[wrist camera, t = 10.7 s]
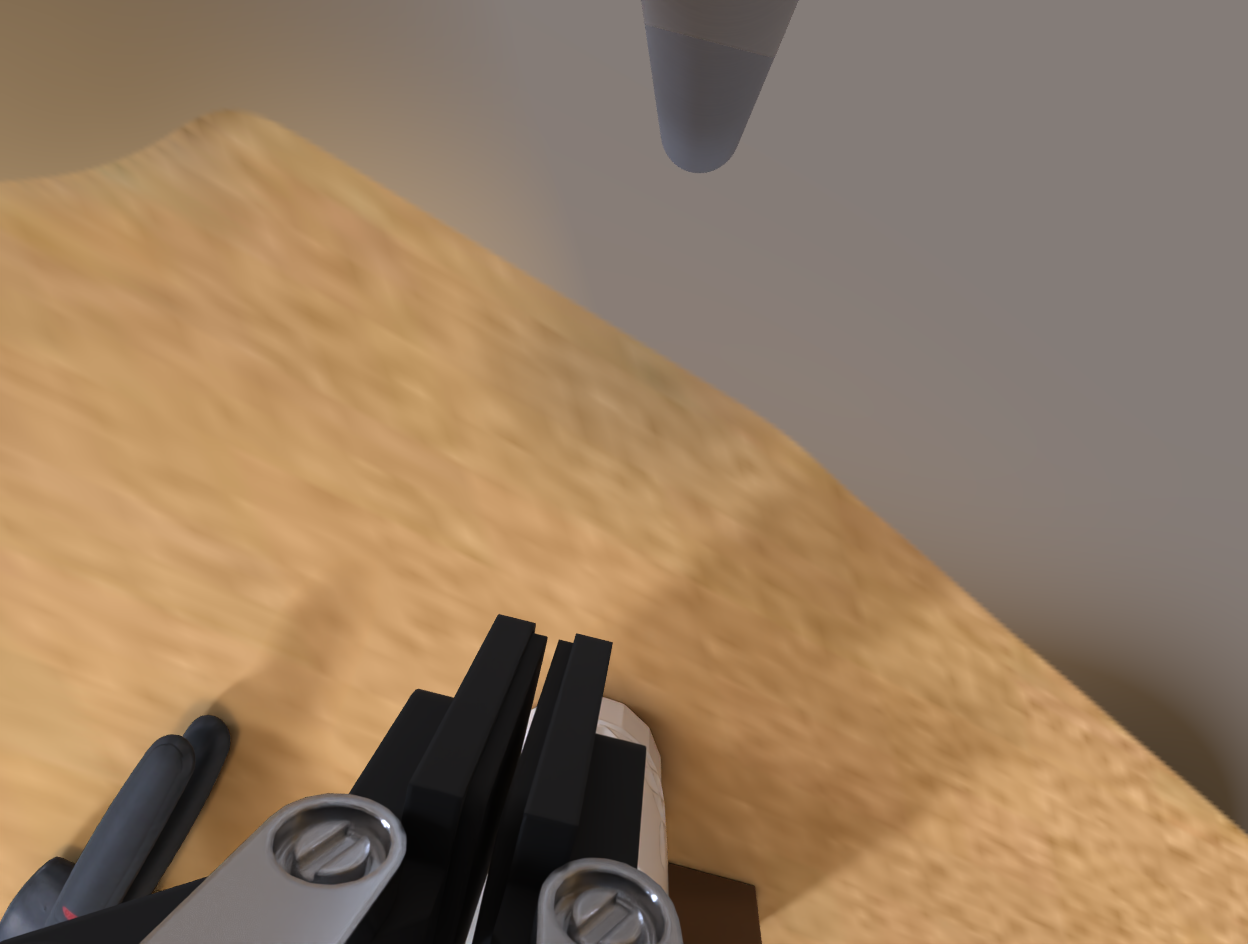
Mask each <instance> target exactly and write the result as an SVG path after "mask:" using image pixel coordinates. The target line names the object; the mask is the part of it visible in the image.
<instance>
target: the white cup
mask: <svg viewBox="0 0 1248 944" xmlns="http://www.w3.org/2000/svg"><path fill="white" fill-rule="evenodd" d="M535 710H536V708H534V709H532V710H531V713H530V717H529V721H528V726H527V730H526V734H525V739H524V743H525V740H526V737H527V734H528V731H529V728H530V725H531V722H532V719H533V716H534V713H535ZM596 733H597V734H601V735H605V736H609V737H613V738H617V739H621V740H625V741H629V742H633V743H637V744H641V745H645V746H646V764H645V777H644V789H643V802H642V815H641V828H640V841H639V854H638V867H637V869H638V870H640V871H642V872H644V873H645V874H647V875H648V876H649V877H650V878H652V879H653V880H654V881H655V882H656V883H658V884H659V885H660V886H661V887H662V888H663V890H664V891H665V892H666V894H667V895H668V896H669V879H668V849H667V831H666V819H665V803H664V796H663V790H662V785H661V757H660V754H659V751H658V749H657V746H656V744H655V741H654V739H653V736H652V733H651V731H650V728H649V727H648V726H647V725H646V724H645V723H644V722H643V721H642V720H641V719H640V718H639V717H638V716H637V715H635V714H634V713H633V712H632V711H631V710H630V709H629V708H628V707H627V706H626V705H625V704H623V703H620V702H617V701H614V700H611V699H608V698H605V697H602V702H601V708H600V713H599V718H598V724H597V729H596ZM524 743H523V746H524ZM522 749H523V747H522ZM487 875H488V874H487ZM486 879H487V877H486ZM485 884H486V880H485V883H484V886H483V890H482V893H481V896H480V899H479V902H478V905H477V908H476V911H475V914H474V917H473V921H472V924H471V927H470V930H469V933H468V936H467V939H466V942H465V944H472V940H473V936H474V932H475V927H476V923H477V919H478V914H479V910H480V905H481V901H482V897H483V892H484V888H485Z"/></svg>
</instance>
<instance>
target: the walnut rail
mask: <svg viewBox="0 0 1248 944" xmlns="http://www.w3.org/2000/svg"><path fill="white" fill-rule="evenodd" d="M668 879H669V898H670V899H671V901H672V902H673V904H674V907H675V910H676V913H677V915H678V918H679V922H680V928H681V934H682V939H683V944H762V940H761V932H760V924H759V916H758V907H757V899H756V891H755V887H754V886H752V885H748V884H744V883H741V882H737V881H733V880H729V879H726V878H722V877H718V876H714V875H711V874H707V873H703V872H699V871H696V870H692V869H688V868H685V867H681V866H677V865H673V864H670V863H668Z"/></svg>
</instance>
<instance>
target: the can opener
mask: <svg viewBox="0 0 1248 944" xmlns="http://www.w3.org/2000/svg"><path fill="white" fill-rule="evenodd" d="M229 749H230V733H229V730H228V728H227V726H226V725H225V723H224V722H223V721H222V720H221V719H219V718H218V717H215V716H211V715H204V716H200V717H198V718H197V719H196V720H194V721H193V722H192V724H191V725H190V726H189V728H188V729H187V730H186V732H185V733H184V735H183V737H182V736H179V735H173V734H172V735H166V736H163V737H161V738H159V739H158V740H156V741H155V742H154V743H153V744H152V746H151V747H150V748H149V749H148V750H147V752H146V753H145V755H144V756H143V758H142V759H141V760H140V762H139V763H138V764H137V766H136V768H135V769H134V770H133V772H132V773H131V775H130V776H129V778H128V779H127V781H126V782H125V784H124V785H123V787H122V788H121V790H120V791H119V793H118V794H117V796H116V797H115V799H114V800H113V802H112V804H111V805H110V807H109V808H108V810H107V812H106V813H105V815H104V816H103V818H102V820H101V822H100V823H99V825H98V826H97V827H96V829H95V831H94V833H93V835H92V836H91V838H90V840H89V841H88V843H87V845H86V847H85V849H84V850H83V852H82V854H81V855H80V857H79V859H78V861H77V863H76V864H75V863H72V862H70V861H68V860H66V859H64V858H61V857H55V858H53V859H51V860H49V861H48V862H46V863H45V864H44V865H43V866H42V867H41V868H39V870H38V871H37V872H36V873H35V874H34V875H33V876H32V877H31V878H30V879H29V880H28V881H27V882H26V883H25V884H24V886H23V887H22V888H21V890H20V891H19V892H18V894H17V895H16V896H15V898H14V899H13V901H12V902H11V903H10V905H9V907H8V908H7V910H6V912H5V914H4V916H3V918H2V920H1V922H0V942H1V941H3V940H6V939H9V938H12V937H16V936H19V935H22V934H25V933H28V932H32V931H35V930H38V929H41V928H44V927H48V926H51V925H54V924H57V923H60V922H64V921H67V920H70V919H73V918H76V917H80V916H83V915H86V914H89V913H93V912H96V911H99V910H102V909H105V908H109V907H112V906H115V905H118V904H121V903H125V902H128V901H131V900H134V899H137V898H141V897H144V896H147V895H150V894H152V892H153V890H154V889H155V887H156V886H157V884H158V882H159V880H160V879H161V877H162V876H163V874H164V872H165V871H166V869H167V867H168V866H169V865H170V863H171V862H172V860H173V858H174V856H175V855H176V853H177V851H178V850H179V848H180V846H181V844H182V843H183V841H184V839H185V838H186V836H187V835H188V833H189V831H190V829H191V827H192V826H193V824H194V822H195V820H196V819H197V817H198V815H199V813H200V811H201V809H202V808H203V806H204V804H205V801H206V800H207V798H208V796H209V794H210V792H211V790H212V788H213V786H214V783H215V781H216V779H217V777H218V775H219V773H220V771H221V768H222V766H223V764H224V762H225V759H226V757H227V755H228V752H229Z"/></svg>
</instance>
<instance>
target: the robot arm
mask: <svg viewBox="0 0 1248 944" xmlns="http://www.w3.org/2000/svg"><path fill="white" fill-rule="evenodd" d="M535 627H536V623H533V622H529V621H525V620H521V619H517V618H513V617H508V616H504V615H500V614H498V616H497V618H496V619H495V621H494V623H493V625H492V627H491V629H490V631H489V633H488V634H487V636H486V638H485V640H484V642H483V644H482V646H481V648H480V650H479V651H478V653H477V655H476V657H475V659H474V661H473V663H472V665H471V667H470V668H469V670H468V672H467V674H466V676H465V678H464V680H463V682H462V683H461V685H460V687H459V689H458V691H457V693H456V695H455V697H454V698H453V697H449V696H445V695H441V694H437V693H433V692H429V691H425V690H421V689H416V690H415V691H414V692H413V694H412V695H411V696H410V698H409V699H408V701H407V703H406V704H405V706H404V707H403V709H402V711H401V712H400V714H399V715H398V717H397V718H396V720H395V722H394V723H393V725H392V726H391V728H390V729H389V731H388V733H387V734H386V736H385V737H384V739H383V741H382V742H381V744H380V745H379V747H378V748H377V750H376V752H375V753H374V755H373V756H372V758H371V760H370V761H369V763H368V764H367V766H366V767H365V769H364V771H363V772H362V774H361V775H360V777H359V778H358V780H357V782H356V783H355V785H354V786H353V788H352V790H351V791H350V793H349V794H334V793H327V794H321V795H315V796H309V797H305V798H303V799H300V800H298V801H295V802H293V803H290V804H288V805H286V806H284V807H283V808H281V809H280V810H279V811H277V812H276V813H274V814H273V815H272V816H270V817H269V818H268V819H267V820H266V821H265V822H264V823H263V824H262V825H261V826H260V827H259V828H258V829H257V830H256V831H255V832H254V833H253V834H252V835H251V836H250V837H249V838H248V839H246V840H245V841H244V842H243V843H242V844H241V845H240V846H239V847H238V848H237V849H236V850H235V851H234V852H233V853H232V854H231V855H230V856H229V857H228V858H227V859H226V860H225V861H224V862H223V863H222V864H221V865H220V866H219V867H218V868H217V869H216V870H215V871H213V872H212V873H211V874H210V875H209V876H208V877H205V878H202V879H198V880H195V881H192V882H189V883H186V884H182V885H179V886H176V887H173V888H170V889H166V890H163V891H160V892H157V893H154V894H150V895H147V896H144V897H141V898H137V899H134V900H131V901H128V902H125V903H121V904H118V905H115V906H112V907H109V908H105V909H102V910H99V911H96V912H93V913H89V914H86V915H83V916H80V917H76V918H73V919H70V920H67V921H64V922H60V923H57V924H54V925H51V926H48V927H44V928H41V929H38V930H35V931H32V932H28V933H25V934H22V935H19V936H16V937H12V938H9V939H6V940H3V941H1V942H0V944H465V942H466V939H467V936H468V933H469V930H470V927H471V924H472V921H473V917H474V914H475V911H476V908H477V905H478V902H479V899H480V896H481V893H482V890H483V886H484V883H485V880H486V884H485V888H484V892H483V897H482V901H481V905H480V910H479V914H478V919H477V923H476V927H475V932H474V936H473V940H472V944H683V939H682V934H681V928H680V922H679V918H678V915H677V913H676V910H675V907H674V904H673V902H672V901H671V899H670V898H669V896H668V895H667V894H666V892H665V891H664V890H663V888H662V887H661V886H660V885H659V884H658V883H656V882H655V881H654V880H653V879H652V878H650V877H649V876H648V875H647V874H645V873H644V872H642V871H640V870H638V869H637V867H638V854H639V841H640V828H641V815H642V802H643V789H644V777H645V764H646V746H645V745H641V744H637V743H633V742H629V741H625V740H621V739H617V738H613V737H609V736H605V735H601V734H597V733H596V729H597V724H598V718H599V713H600V708H601V702H602V697H603V692H604V687H605V681H606V676H607V671H608V665H609V660H610V655H611V649H612V644H613V642H609V641H605V640H601V639H597V638H593V637H589V636H585V635H581V634H577V633H576V636H575V639H574V643H571V642H567V641H563V640H559V641H558V644H557V647H556V650H555V653H554V656H553V659H552V662H551V665H550V668H549V671H548V674H547V677H546V680H545V683H544V686H543V689H542V692H541V695H540V698H539V701H538V704H537V707H536V710H535V713H534V716H533V719H532V722H531V725H530V728H529V731H528V734H527V737H526V740H525V743H524V739H525V734H526V730H527V726H528V721H529V717H530V713H531V709H532V704H533V700H534V696H535V691H536V687H537V683H538V678H539V674H540V670H541V665H542V661H543V657H544V652H545V648H546V643H547V636H543V635H539V634H535ZM523 743H524V746H523ZM522 747H523V749H522ZM487 874H488V875H487ZM486 877H487V879H486Z"/></svg>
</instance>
